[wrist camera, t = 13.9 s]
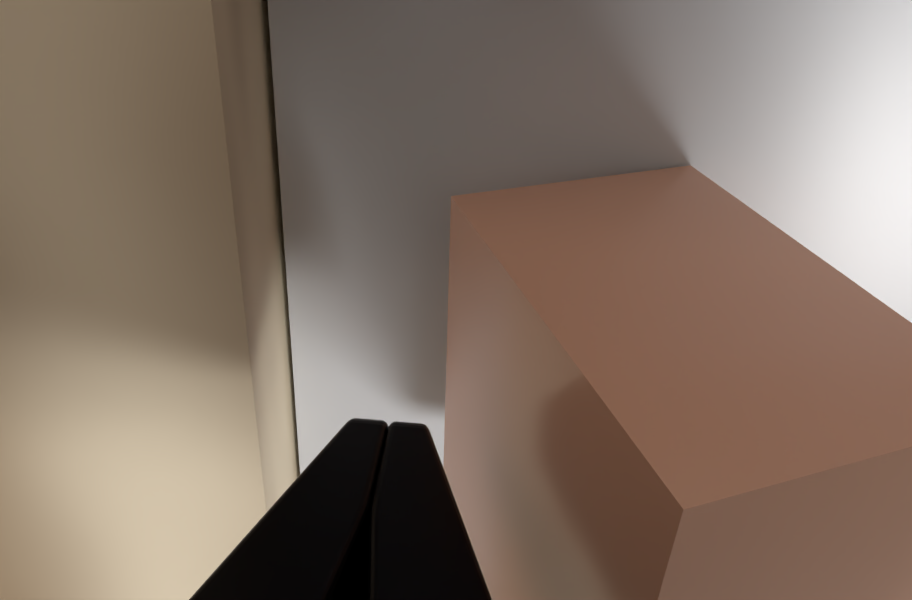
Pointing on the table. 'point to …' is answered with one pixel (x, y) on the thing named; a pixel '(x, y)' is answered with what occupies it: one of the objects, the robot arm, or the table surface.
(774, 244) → the terracotta block
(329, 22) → the tray
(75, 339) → the birch board
